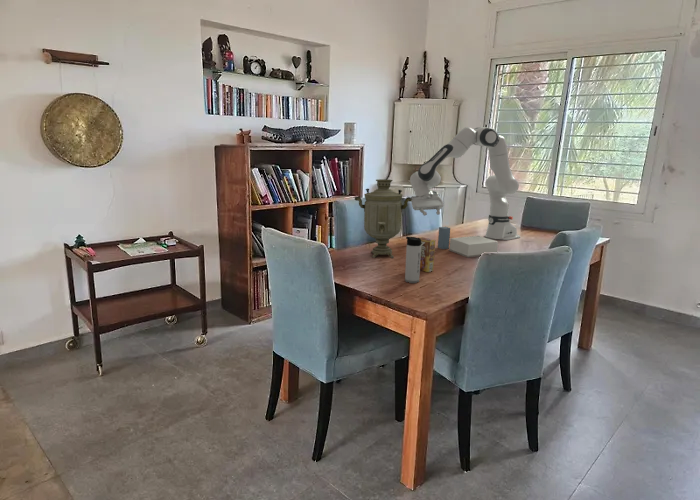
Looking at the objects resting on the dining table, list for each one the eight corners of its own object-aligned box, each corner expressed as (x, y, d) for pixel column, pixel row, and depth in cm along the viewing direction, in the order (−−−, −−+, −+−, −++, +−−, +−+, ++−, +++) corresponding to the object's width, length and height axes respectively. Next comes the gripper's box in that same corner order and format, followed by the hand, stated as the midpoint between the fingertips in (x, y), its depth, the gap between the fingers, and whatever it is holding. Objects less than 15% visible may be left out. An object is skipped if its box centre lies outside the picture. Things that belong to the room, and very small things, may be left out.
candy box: (433, 271, 219) (436, 240, 215) (427, 272, 217) (429, 241, 213) (420, 266, 226) (421, 236, 222) (413, 268, 223) (415, 237, 219)
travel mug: (402, 279, 206) (404, 235, 202) (417, 278, 207) (419, 235, 202) (405, 283, 200) (407, 238, 195) (420, 283, 201) (423, 238, 196)
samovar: (344, 259, 237) (345, 181, 228) (361, 247, 261) (362, 176, 251) (401, 265, 228) (404, 184, 218) (412, 253, 251) (416, 179, 242)
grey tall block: (444, 246, 267) (445, 226, 264) (448, 248, 263) (450, 228, 261) (437, 247, 266) (439, 227, 263) (442, 249, 262) (443, 228, 259)
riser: (477, 247, 268) (478, 235, 266) (497, 254, 253) (499, 241, 251) (448, 250, 259) (449, 238, 258) (467, 257, 245) (468, 244, 243)
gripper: (411, 193, 271) (419, 212, 265) (440, 192, 279) (448, 210, 273) (406, 199, 276) (414, 218, 270) (435, 198, 285) (443, 216, 278)
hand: (432, 214), depth 272 cm, fingers open, 8 cm apart
